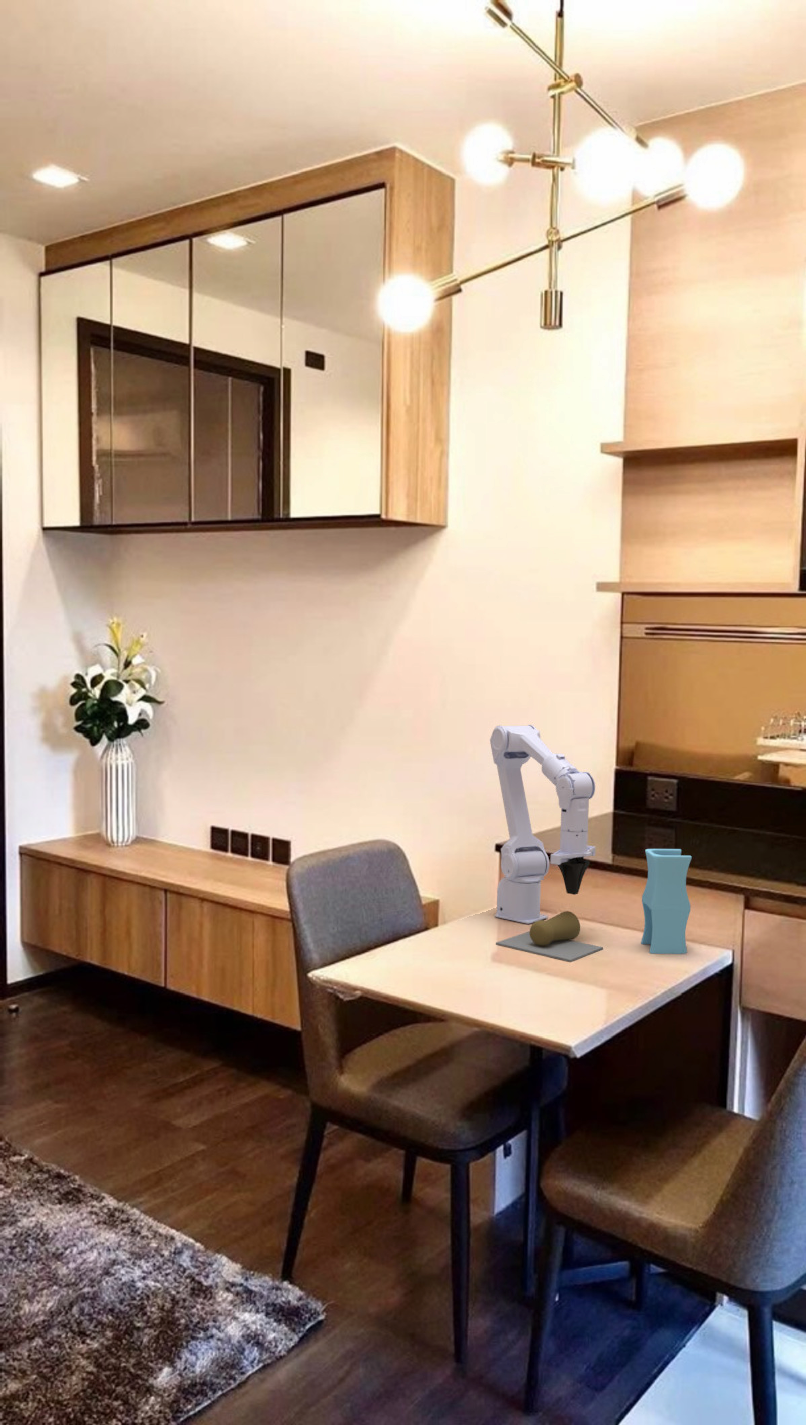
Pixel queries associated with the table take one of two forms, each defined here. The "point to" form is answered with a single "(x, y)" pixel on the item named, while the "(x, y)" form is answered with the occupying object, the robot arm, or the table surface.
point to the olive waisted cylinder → (555, 929)
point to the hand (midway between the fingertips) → (572, 893)
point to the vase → (666, 901)
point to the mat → (551, 947)
